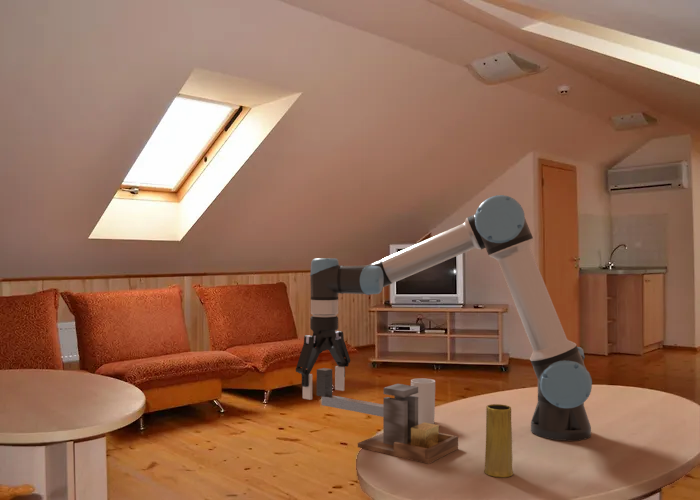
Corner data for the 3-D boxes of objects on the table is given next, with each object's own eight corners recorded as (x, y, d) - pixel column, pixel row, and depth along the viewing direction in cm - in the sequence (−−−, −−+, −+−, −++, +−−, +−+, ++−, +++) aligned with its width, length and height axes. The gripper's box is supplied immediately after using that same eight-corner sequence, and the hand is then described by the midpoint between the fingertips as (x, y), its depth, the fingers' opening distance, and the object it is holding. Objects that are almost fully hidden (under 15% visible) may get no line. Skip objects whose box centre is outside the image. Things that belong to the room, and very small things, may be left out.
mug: (432, 428, 173) (432, 383, 173) (408, 425, 175) (408, 382, 175) (439, 419, 182) (439, 377, 182) (416, 417, 184) (416, 375, 184)
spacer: (424, 442, 156) (438, 445, 153) (411, 448, 151) (425, 451, 148) (424, 422, 156) (438, 425, 153) (411, 427, 151) (425, 430, 148)
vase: (480, 468, 140) (480, 403, 140) (507, 468, 141) (507, 403, 141) (489, 478, 134) (489, 410, 134) (517, 477, 134) (517, 410, 135)
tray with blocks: (458, 448, 154) (458, 388, 154) (428, 463, 143) (429, 399, 143) (389, 434, 166) (389, 378, 166) (357, 447, 155) (357, 387, 155)
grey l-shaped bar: (402, 417, 157) (403, 379, 157) (396, 419, 155) (396, 381, 155) (323, 402, 173) (323, 367, 173) (316, 404, 170) (316, 369, 171)
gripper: (341, 311, 183) (341, 385, 183) (282, 318, 163) (281, 400, 163) (362, 312, 179) (362, 388, 179) (304, 320, 159) (303, 405, 159)
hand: (324, 394), depth 171 cm, fingers open, 13 cm apart
